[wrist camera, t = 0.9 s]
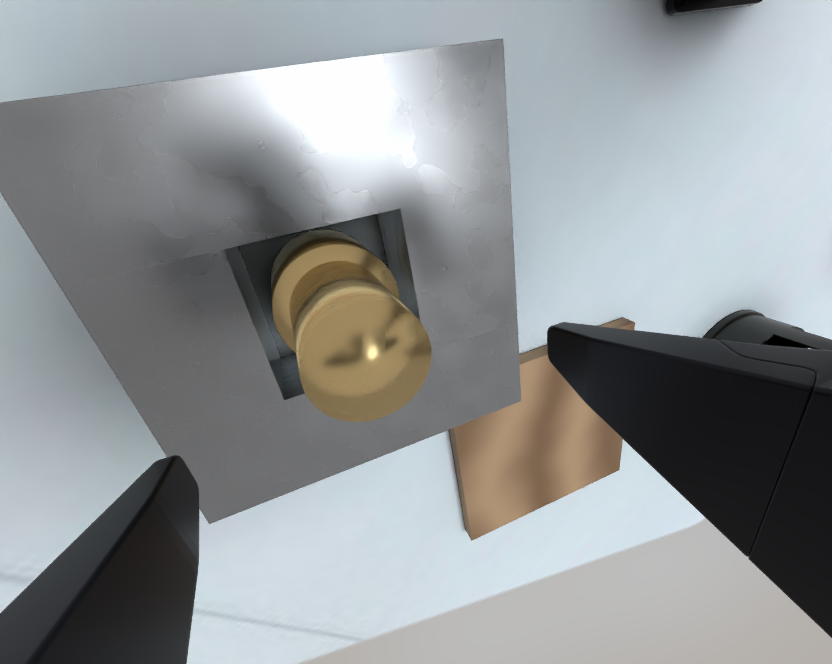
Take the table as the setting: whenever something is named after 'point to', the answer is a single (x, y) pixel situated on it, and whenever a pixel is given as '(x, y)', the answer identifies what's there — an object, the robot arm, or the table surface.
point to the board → (531, 448)
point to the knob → (347, 327)
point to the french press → (765, 332)
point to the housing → (268, 218)
